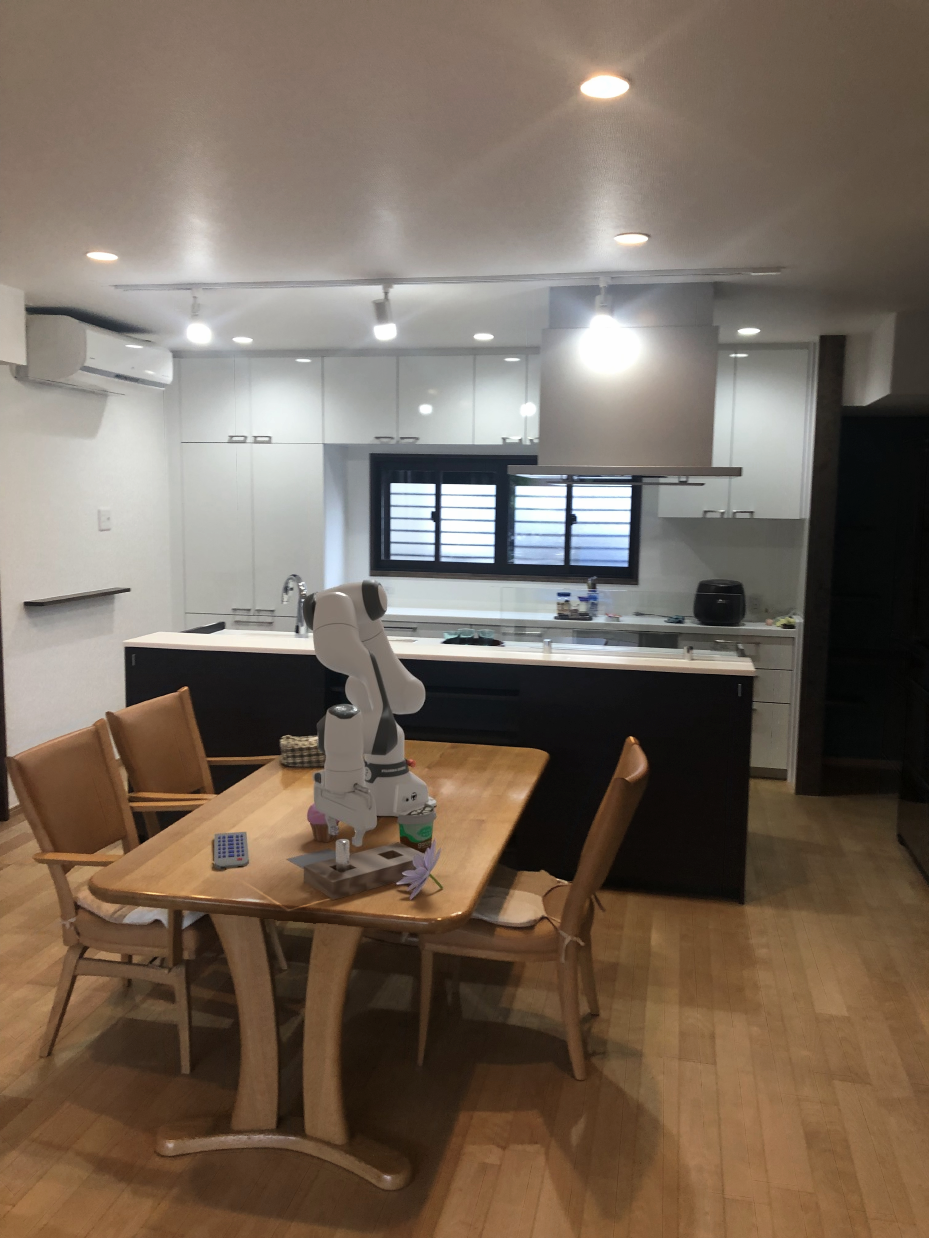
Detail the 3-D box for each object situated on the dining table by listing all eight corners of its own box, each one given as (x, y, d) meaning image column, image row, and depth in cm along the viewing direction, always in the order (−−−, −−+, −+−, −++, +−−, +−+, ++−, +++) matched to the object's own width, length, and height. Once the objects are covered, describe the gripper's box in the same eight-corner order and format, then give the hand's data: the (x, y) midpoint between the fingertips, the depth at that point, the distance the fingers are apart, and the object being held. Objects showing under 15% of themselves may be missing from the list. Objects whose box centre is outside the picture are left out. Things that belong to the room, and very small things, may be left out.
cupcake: (331, 847, 237) (331, 808, 236) (300, 843, 240) (300, 804, 239) (347, 836, 245) (347, 798, 244) (317, 832, 248) (317, 795, 247)
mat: (329, 849, 235) (329, 848, 235) (356, 863, 226) (356, 862, 226) (286, 860, 228) (286, 858, 228) (312, 875, 218) (312, 873, 218)
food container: (417, 859, 229) (418, 819, 228) (396, 854, 233) (397, 814, 232) (445, 845, 240) (446, 806, 239) (425, 840, 243) (425, 802, 242)
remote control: (246, 838, 244) (246, 830, 244) (249, 869, 223) (249, 860, 222) (214, 840, 242) (214, 832, 242) (214, 872, 221) (213, 863, 220)
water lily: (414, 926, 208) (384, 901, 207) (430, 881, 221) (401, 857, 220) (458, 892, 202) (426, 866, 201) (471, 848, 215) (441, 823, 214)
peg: (344, 880, 215) (344, 838, 214) (352, 885, 213) (352, 841, 212) (333, 884, 213) (333, 840, 212) (340, 888, 211) (340, 844, 210)
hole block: (397, 858, 230) (398, 841, 230) (428, 872, 221) (428, 855, 221) (303, 883, 214) (303, 866, 213) (332, 900, 204) (332, 882, 204)
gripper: (383, 787, 205) (384, 849, 207) (332, 767, 220) (332, 825, 222) (359, 792, 201) (359, 855, 202) (308, 771, 216) (309, 830, 218)
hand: (345, 839), depth 212 cm, fingers open, 8 cm apart
